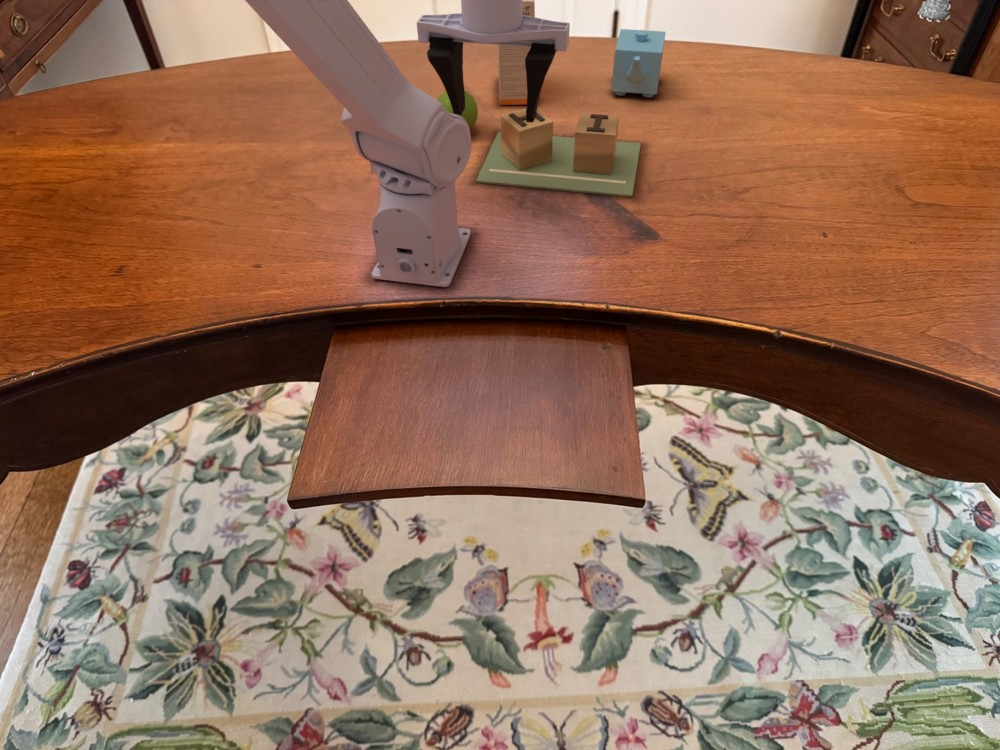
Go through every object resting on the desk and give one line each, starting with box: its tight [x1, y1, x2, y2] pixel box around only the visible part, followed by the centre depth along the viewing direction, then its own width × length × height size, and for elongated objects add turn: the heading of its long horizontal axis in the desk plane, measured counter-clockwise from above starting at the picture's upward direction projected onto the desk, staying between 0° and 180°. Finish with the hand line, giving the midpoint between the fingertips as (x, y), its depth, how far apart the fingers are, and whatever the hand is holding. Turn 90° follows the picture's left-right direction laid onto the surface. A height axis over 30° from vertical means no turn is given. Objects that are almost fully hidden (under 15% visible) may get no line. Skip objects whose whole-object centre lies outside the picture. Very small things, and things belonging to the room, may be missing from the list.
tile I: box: [573, 113, 620, 175], centre depth 83 cm, size 4×4×5 cm
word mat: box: [475, 130, 642, 198], centre depth 85 cm, size 12×18×1 cm, turn 78°
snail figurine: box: [437, 90, 479, 130], centre depth 87 cm, size 5×6×12 cm
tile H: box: [500, 108, 554, 171], centre depth 84 cm, size 4×4×5 cm
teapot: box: [610, 28, 667, 98], centre depth 96 cm, size 12×6×8 cm, turn 167°
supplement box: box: [497, 0, 536, 106], centre depth 94 cm, size 8×5×13 cm, turn 179°
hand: (495, 115), depth 74 cm, fingers open, 7 cm apart
